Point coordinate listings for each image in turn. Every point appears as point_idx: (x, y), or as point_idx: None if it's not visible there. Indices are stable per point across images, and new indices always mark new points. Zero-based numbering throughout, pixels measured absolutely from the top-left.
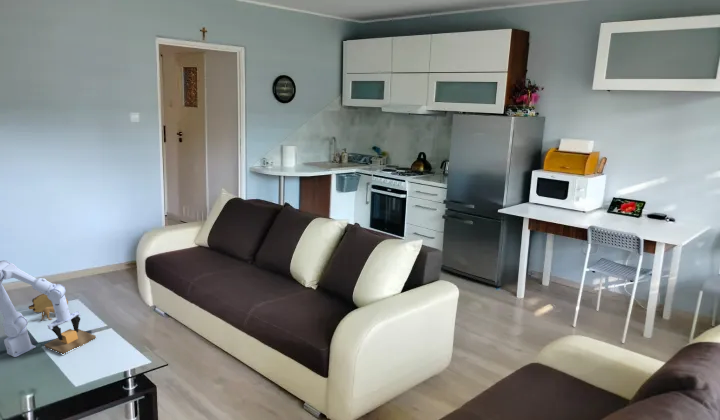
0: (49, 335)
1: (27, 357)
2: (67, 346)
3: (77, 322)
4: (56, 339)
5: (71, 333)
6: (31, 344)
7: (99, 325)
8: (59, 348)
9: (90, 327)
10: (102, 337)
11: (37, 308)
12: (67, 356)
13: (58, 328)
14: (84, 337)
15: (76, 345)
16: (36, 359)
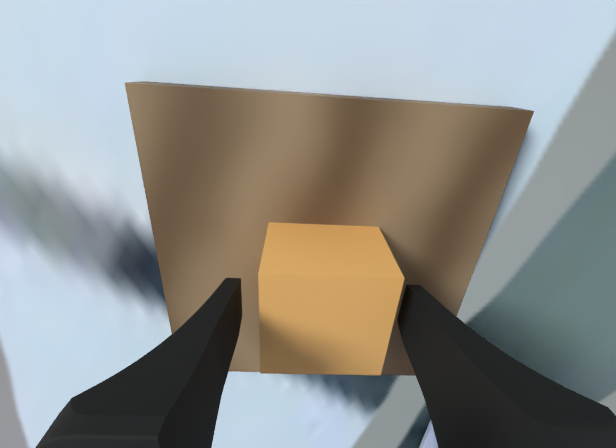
0: (311, 435)
1: (553, 346)
2: (417, 181)
3: (165, 371)
4: None
5: (322, 275)
6: (429, 434)
7: (24, 278)
8: (463, 223)
9: (96, 314)
10: (82, 12)
11: None
12: (524, 37)
13: (570, 442)
14: (224, 175)
15: (372, 100)
16: (579, 274)
